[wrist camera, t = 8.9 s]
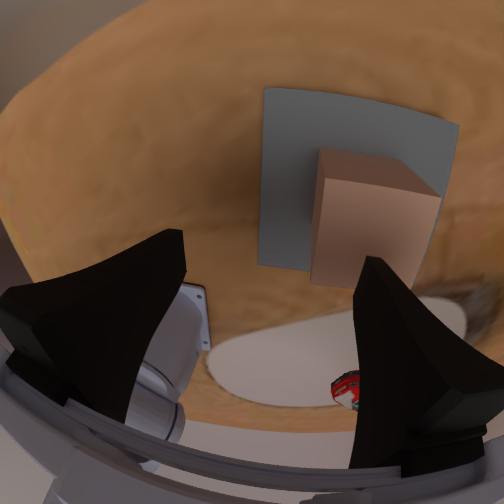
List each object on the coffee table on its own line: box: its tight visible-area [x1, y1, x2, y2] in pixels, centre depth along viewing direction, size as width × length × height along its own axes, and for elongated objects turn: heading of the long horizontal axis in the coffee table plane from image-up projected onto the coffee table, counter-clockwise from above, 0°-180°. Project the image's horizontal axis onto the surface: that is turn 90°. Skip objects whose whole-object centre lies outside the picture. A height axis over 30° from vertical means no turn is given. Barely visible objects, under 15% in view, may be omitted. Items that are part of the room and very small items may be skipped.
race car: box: [331, 370, 360, 412], centre depth 29 cm, size 13×5×4 cm, turn 66°
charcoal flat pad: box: [257, 87, 459, 284], centre depth 17 cm, size 12×12×3 cm
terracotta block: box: [310, 148, 442, 289], centre depth 13 cm, size 5×5×6 cm
